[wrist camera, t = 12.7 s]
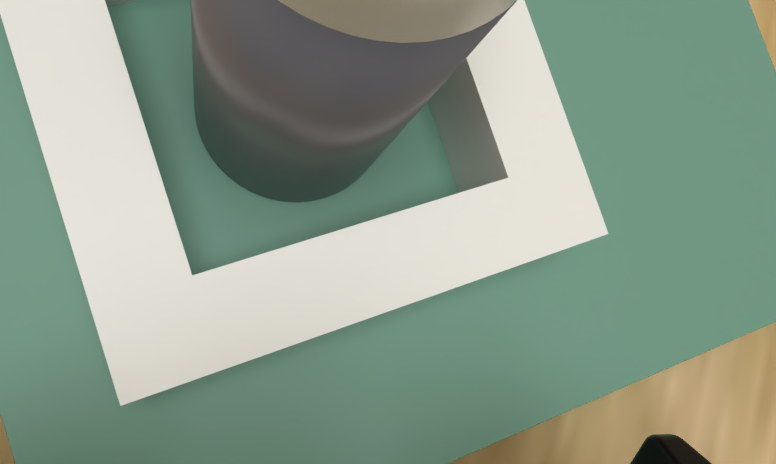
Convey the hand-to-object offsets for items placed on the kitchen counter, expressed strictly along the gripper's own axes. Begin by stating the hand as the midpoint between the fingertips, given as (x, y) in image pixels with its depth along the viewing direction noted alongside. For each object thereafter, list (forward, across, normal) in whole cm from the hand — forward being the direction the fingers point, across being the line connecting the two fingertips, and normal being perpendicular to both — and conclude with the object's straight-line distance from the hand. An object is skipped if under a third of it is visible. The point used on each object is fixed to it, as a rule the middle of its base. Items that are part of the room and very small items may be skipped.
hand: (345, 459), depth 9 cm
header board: (+11, -4, +2) cm, 12 cm away
